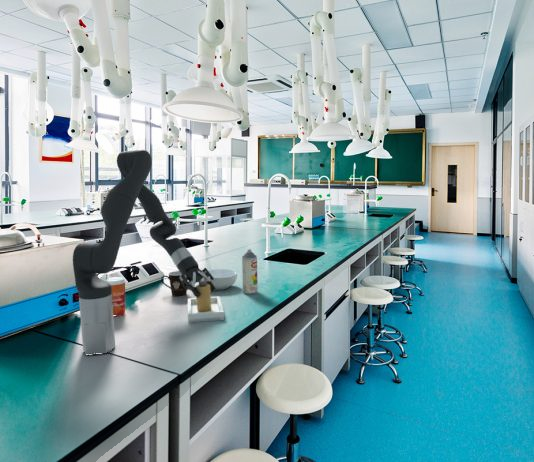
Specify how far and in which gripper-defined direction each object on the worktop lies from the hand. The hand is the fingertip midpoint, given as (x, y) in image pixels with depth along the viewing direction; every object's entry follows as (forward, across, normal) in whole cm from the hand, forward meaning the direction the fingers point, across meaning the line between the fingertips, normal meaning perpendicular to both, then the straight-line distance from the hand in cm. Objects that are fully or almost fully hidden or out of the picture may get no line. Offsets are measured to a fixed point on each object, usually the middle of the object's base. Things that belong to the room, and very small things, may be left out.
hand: (206, 293), depth 154 cm
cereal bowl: (-8, +31, +20) cm, 38 cm away
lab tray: (+4, 0, +6) cm, 8 cm away
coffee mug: (-15, +12, +26) cm, 33 cm away
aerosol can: (+4, +32, +7) cm, 33 cm away
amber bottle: (+4, 0, +6) cm, 7 cm away
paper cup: (-15, -19, +26) cm, 36 cm away
